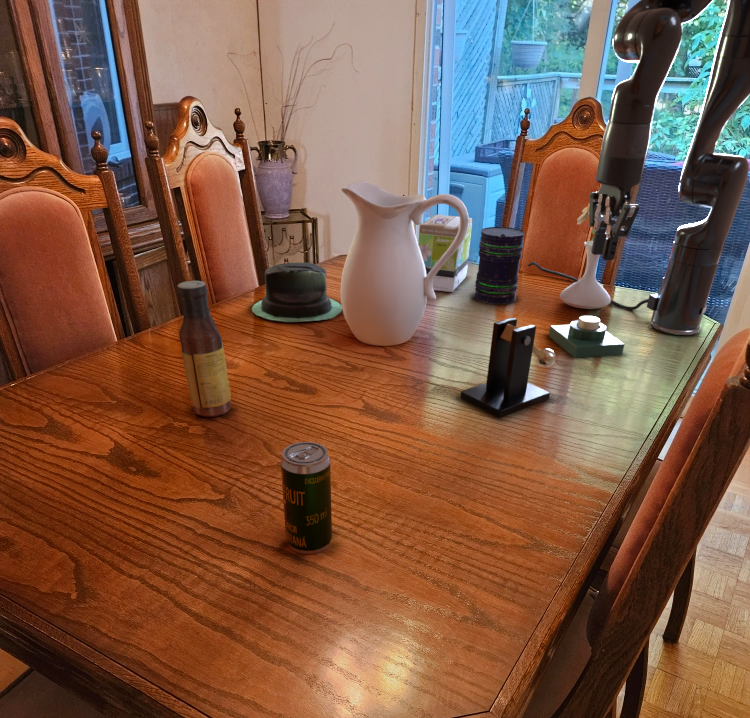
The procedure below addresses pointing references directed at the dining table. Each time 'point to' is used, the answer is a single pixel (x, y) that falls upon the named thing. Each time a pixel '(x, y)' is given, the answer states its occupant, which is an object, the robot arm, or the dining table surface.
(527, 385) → the bracket
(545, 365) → the lever
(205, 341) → the sauce bottle
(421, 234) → the tea box
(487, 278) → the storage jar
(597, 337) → the switch block
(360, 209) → the pitcher
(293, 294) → the fedora hat
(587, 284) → the flower in vase
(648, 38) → the robot arm
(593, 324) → the button
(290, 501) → the green drink can
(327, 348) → the dining table surface
